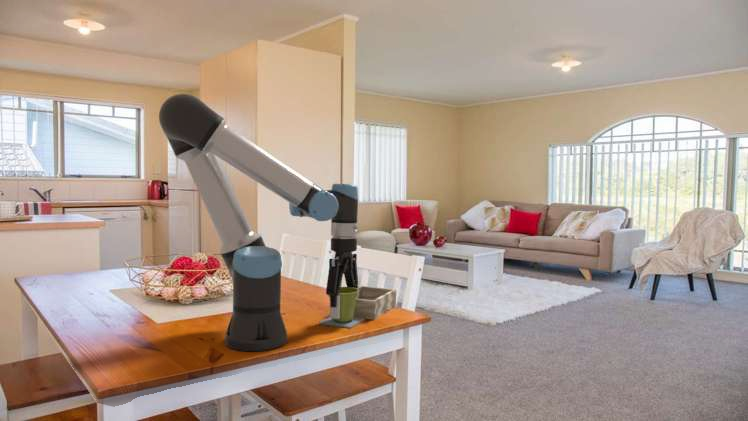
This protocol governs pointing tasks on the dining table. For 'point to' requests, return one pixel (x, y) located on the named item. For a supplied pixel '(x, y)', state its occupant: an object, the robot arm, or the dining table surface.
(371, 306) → the frame
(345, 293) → the plant pot
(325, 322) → the mat
